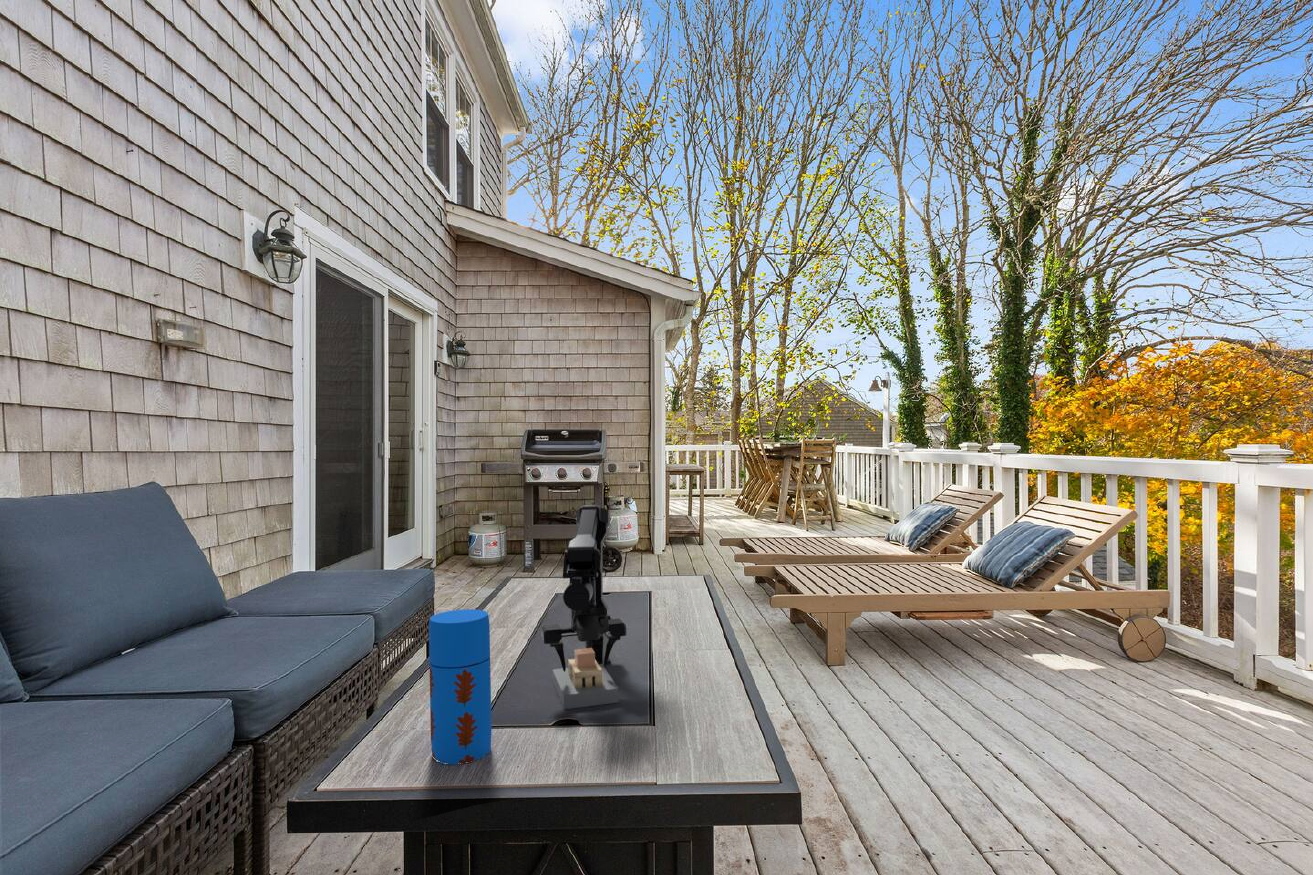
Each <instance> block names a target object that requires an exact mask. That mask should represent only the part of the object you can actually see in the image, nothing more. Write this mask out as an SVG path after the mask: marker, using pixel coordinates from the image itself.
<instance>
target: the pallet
mask: <svg viewBox="0 0 1313 875" xmlns="http://www.w3.org/2000/svg"><path fill="white" fill-rule="evenodd" d="M567 668H568V675H569V677H570V679H571V681H572V683H573V685H574V687H575V689H578V688H582V682H583V684H584V686H585V687H586V688H587V687H592V681H593V683H594V684H595V686H602V669H601V667H600V666H599V664H598V663H597V661H596V660H595V666H592V667H583V668H577V666H576V664H575V658H570V659H569V658H568V659H567Z"/></svg>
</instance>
